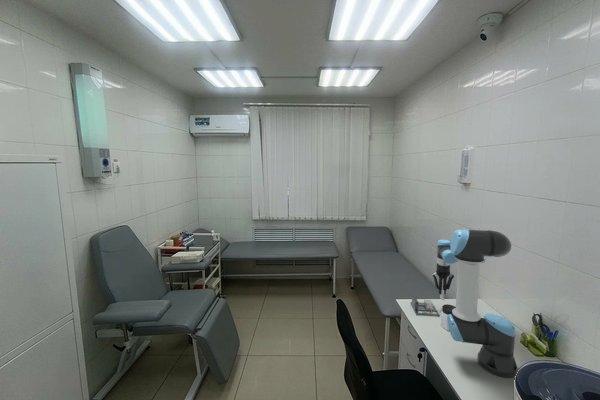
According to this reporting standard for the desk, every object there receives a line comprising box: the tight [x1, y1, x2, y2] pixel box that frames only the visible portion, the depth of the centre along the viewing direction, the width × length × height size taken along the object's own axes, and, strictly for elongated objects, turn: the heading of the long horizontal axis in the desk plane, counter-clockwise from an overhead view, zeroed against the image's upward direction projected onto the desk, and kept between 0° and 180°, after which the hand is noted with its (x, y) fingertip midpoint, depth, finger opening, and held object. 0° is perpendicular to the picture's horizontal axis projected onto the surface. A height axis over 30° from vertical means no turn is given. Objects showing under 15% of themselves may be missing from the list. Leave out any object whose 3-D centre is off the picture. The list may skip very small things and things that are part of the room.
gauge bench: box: [410, 295, 441, 317], centre depth 174 cm, size 14×14×7 cm
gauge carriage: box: [423, 299, 434, 312], centre depth 172 cm, size 8×4×4 cm, turn 171°
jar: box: [440, 304, 456, 332], centre depth 155 cm, size 9×8×12 cm
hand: (441, 298), depth 172 cm, fingers closed
